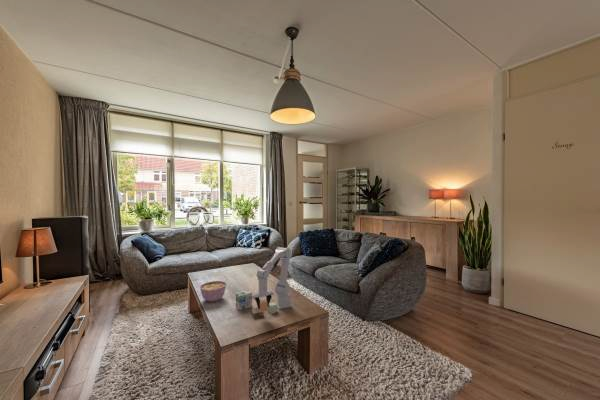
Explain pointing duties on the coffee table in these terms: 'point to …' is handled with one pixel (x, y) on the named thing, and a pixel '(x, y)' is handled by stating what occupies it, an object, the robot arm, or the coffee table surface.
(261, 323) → the coffee table surface
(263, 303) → the terracotta cube
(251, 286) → the coffee table surface
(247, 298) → the light bulb box
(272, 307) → the sage cube
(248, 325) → the coffee table surface
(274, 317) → the coffee table surface
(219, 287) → the bowl of food
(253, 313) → the walnut base
